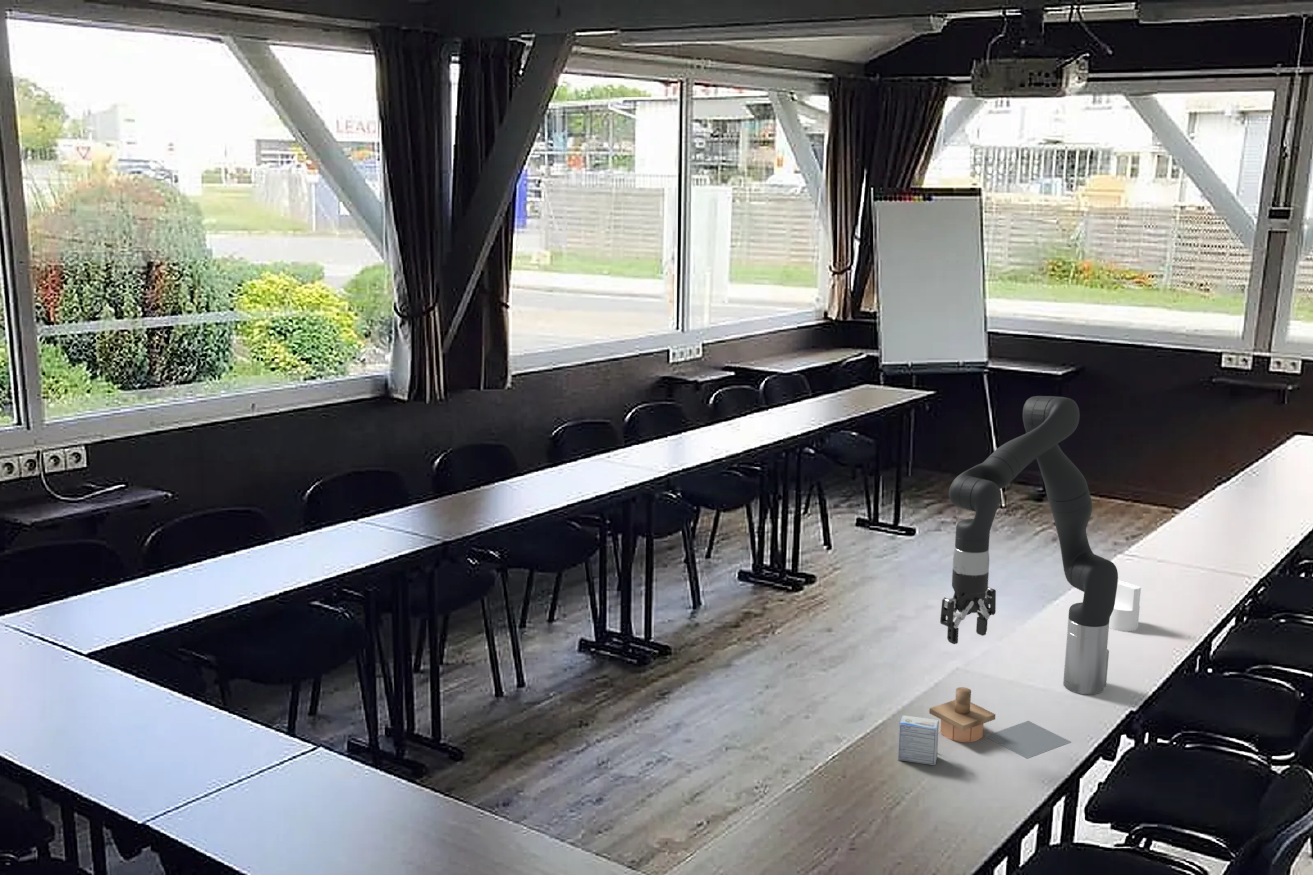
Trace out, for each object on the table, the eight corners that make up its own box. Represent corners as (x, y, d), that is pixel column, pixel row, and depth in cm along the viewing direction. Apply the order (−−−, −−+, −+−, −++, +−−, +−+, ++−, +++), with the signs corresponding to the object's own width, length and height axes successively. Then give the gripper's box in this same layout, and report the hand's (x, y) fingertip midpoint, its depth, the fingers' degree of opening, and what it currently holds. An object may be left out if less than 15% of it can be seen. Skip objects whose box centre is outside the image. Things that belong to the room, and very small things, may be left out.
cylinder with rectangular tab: (1144, 626, 325) (1148, 585, 322) (1124, 634, 320) (1128, 591, 317) (1115, 616, 332) (1119, 576, 330) (1095, 623, 327) (1099, 582, 325)
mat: (1028, 722, 270) (1028, 720, 270) (1071, 744, 260) (1071, 741, 260) (984, 738, 262) (984, 736, 262) (1026, 760, 253) (1027, 758, 252)
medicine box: (937, 756, 254) (939, 719, 252) (935, 766, 250) (937, 728, 248) (900, 751, 257) (901, 714, 255) (897, 760, 253) (899, 723, 251)
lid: (961, 702, 270) (962, 677, 269) (995, 719, 262) (996, 693, 260) (929, 713, 265) (930, 687, 264) (962, 730, 257) (964, 704, 255)
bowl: (960, 722, 270) (961, 704, 269) (990, 738, 263) (992, 719, 262) (931, 732, 266) (932, 713, 265) (961, 748, 258) (962, 729, 257)
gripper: (981, 557, 262) (977, 626, 266) (933, 569, 255) (930, 640, 259) (1007, 566, 256) (1003, 637, 260) (959, 579, 249) (955, 651, 252)
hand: (966, 638), depth 259 cm, fingers open, 8 cm apart
